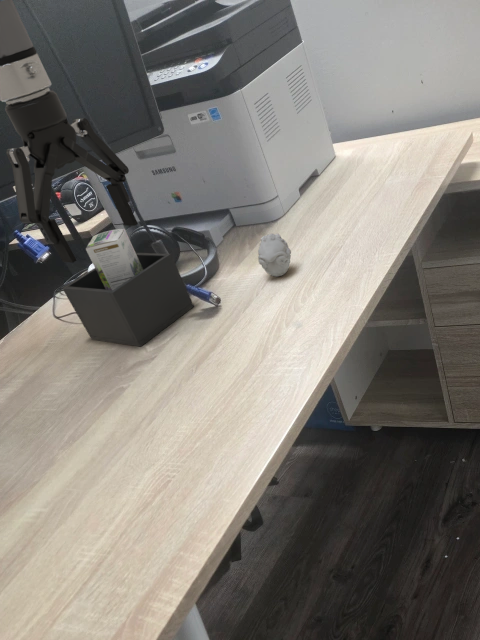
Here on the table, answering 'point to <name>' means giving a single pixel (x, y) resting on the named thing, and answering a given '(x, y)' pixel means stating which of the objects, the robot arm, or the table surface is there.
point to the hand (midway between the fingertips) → (101, 242)
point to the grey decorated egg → (274, 255)
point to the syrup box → (113, 258)
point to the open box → (131, 302)
